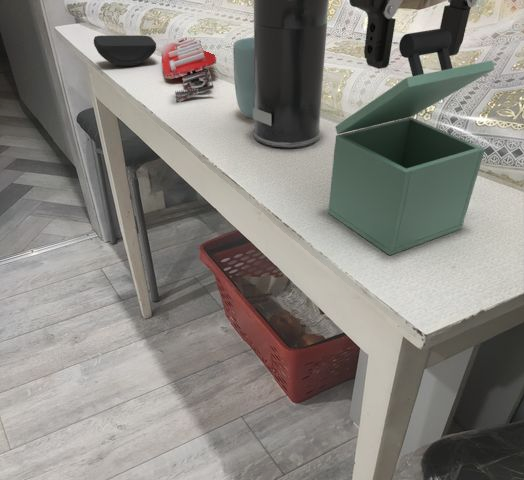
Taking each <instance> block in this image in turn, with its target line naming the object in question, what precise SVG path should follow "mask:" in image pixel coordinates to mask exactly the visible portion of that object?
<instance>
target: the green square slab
mask: <svg viewBox="0 0 524 480" xmlns="http://www.w3.org/2000/svg"><path fill="white" fill-rule="evenodd" d="M451 39H452V37H451V33H450V31H449V30H448V29H447V28H441V29H440V28H434V29H428V30H422V31H416V32H409V33H405V34H404V35H402V36H401V39H400V40H399V46H398V49H399V53H400V55H401V57H403V58H404V59H407V61H408V65H409V68H410V69H409V70H410V72H411V76H408V77H405V78H403V79H402V80H401V81H399V82H398V83H396V84H395V85H394V86H392V87H391V88H389V89H388V90H387V91H385V92H383V93H382V94H380V95H379V96H378V97H376V98H375V99H373V100H372V101H370V102H368V104H366V105H365V106H363V107H362V108H360V109H358V110H357V111H356V112H354V113H353V114H351V115H349V116H348V117H347V118H345V119H343V121H340V122H339V123H338V124H337V125H335V126H334V128H335V131H336V135H339V134H344V133H348V132H352V131H356V130H360V129H364V128H369V127H373V126H377V125H381V124H385V123H389V122H394V121H398V120H402V119H406V118H410V117H411V118H413V117H414V116H416V115H417V114H419V113H421V112H424V111H425V110H426V109H428V108H430V107H431V106H434V105H435V104H437V103H439V102H440V101H442V100H444V99H445V98H447V97H449V96H451V95H453V94H454V93H456V92H457V91H459V90H461V89H463V88H465V87H466V86H468V85H470V84H472V83H474V82H475V81H477V80H479V79H480V78H482V77H484V76H485V75H487V74H489V73H491V72H492V71H494V70H495V66H494V65H495V64H494V61H493V60H488V61H483V62H478V63H477V62H476V63H472V64H467V65H463V66H457V67H453V63H452V60H451V56H450V55H449V51H448V48H449V46H450V44H451ZM431 54H437V57H438V62H439V66H440V70H436V71H432V72H427V73H424V68H423V64H422V60H421V57H420V56H425V55H431Z"/></svg>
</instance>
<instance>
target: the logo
mask: <svg viewBox="0 0 524 480" xmlns="http://www.w3.org/2000/svg"><path fill="white" fill-rule="evenodd" d="M187 38H188V37H187V36H186V37H183V38H180V39H178V40H176V41H175V42H170V43H164V44H163V45H162V46H161V66H162V70H163V75H164V78H165V79H167V80H172V79H178V78H181V77H182V78H181V79H182V84H183V85H184V86H183V89H181V90H179V91H178V90H177V91H176V90H175V92H174V95H175V100H176V101H177V102H179V103H181V102H183V101H185V100H188V99H189V98H191V97H193V96H195V95H198V94H200V93H203V92H207V91H209V90H210V91H211V90H212V89H214V88H215V87H214V84H213V83H214V82H213V79H212V73H211V72H210V68H211V67H214V66H215V65H216V64H217V63H218V62H217V56H216V57H215V55H216V54H215V55H214V54H211V53H209V52H206V51H204V50H203V48H202V45H201V41H200V40H196V41H194V40H195V39H196V38H193V39H191V38H190V39H188V40H187ZM202 68H203V69H204V71H201V70H203V69H202ZM194 70H195V71H196V72H197V71H201V72H198V73H195V74H192V71H194ZM188 73H190V74H188ZM191 74H192V75H191ZM200 75H201V76H200ZM197 76H198V77H197ZM194 77H195V78H194ZM206 77H207V78H206ZM202 78H203V79H202ZM198 81H204V82H203V83H200V84H197V83H196V82H198ZM210 82H211V85H208V86H207V87H204V88H202V86H203V85H204V84H205V83H206V84H210ZM195 83H196V84H195ZM192 84H193V85H192Z"/></svg>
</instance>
